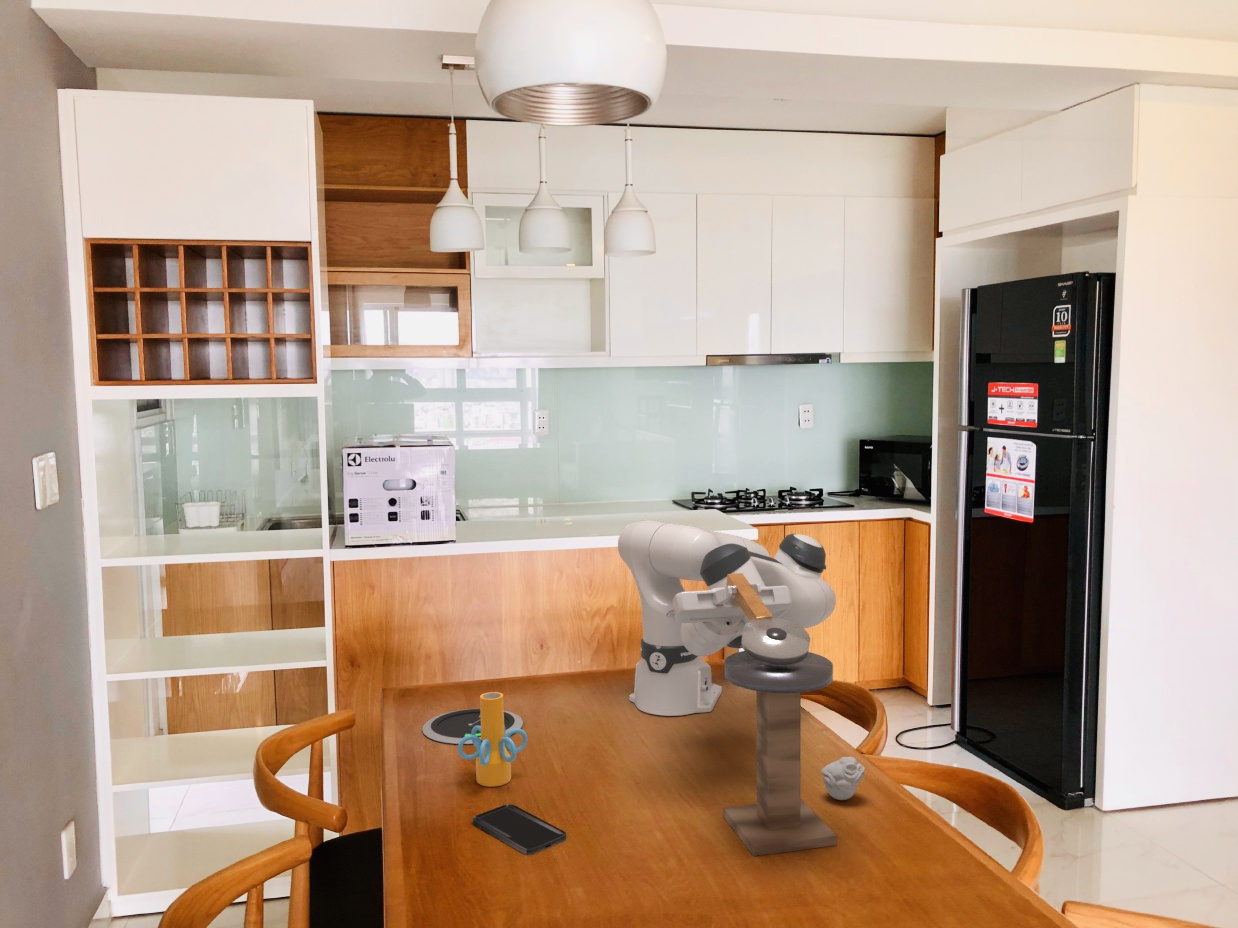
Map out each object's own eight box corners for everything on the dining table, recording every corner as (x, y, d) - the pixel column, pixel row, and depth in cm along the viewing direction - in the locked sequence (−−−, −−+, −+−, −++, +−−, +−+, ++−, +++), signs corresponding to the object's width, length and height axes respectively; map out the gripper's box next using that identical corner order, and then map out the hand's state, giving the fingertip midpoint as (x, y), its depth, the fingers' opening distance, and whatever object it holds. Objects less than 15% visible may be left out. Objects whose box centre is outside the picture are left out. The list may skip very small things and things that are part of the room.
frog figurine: (863, 809, 151) (864, 766, 151) (818, 804, 154) (819, 762, 153) (865, 793, 157) (865, 752, 157) (822, 788, 159) (822, 748, 159)
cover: (705, 586, 159) (706, 574, 158) (761, 583, 161) (763, 571, 160) (754, 667, 137) (756, 653, 136) (819, 662, 139) (821, 648, 138)
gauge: (525, 742, 183) (525, 737, 182) (419, 749, 180) (418, 744, 180) (521, 707, 202) (521, 703, 202) (425, 713, 200) (425, 709, 199)
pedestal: (711, 813, 151) (710, 652, 148) (805, 802, 154) (805, 644, 152) (747, 862, 135) (747, 683, 133) (851, 848, 139) (852, 674, 137)
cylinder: (512, 797, 158) (509, 709, 156) (452, 792, 160) (450, 705, 158) (533, 768, 170) (531, 686, 168) (477, 764, 172) (475, 683, 170)
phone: (510, 802, 154) (569, 833, 143) (510, 809, 154) (569, 840, 143) (469, 817, 149) (527, 851, 138) (469, 824, 149) (527, 858, 138)
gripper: (661, 600, 166) (680, 574, 154) (771, 593, 170) (798, 567, 158) (666, 635, 163) (686, 612, 151) (778, 627, 168) (806, 604, 155)
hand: (744, 589), depth 155 cm, fingers closed on cover, 3 cm apart
